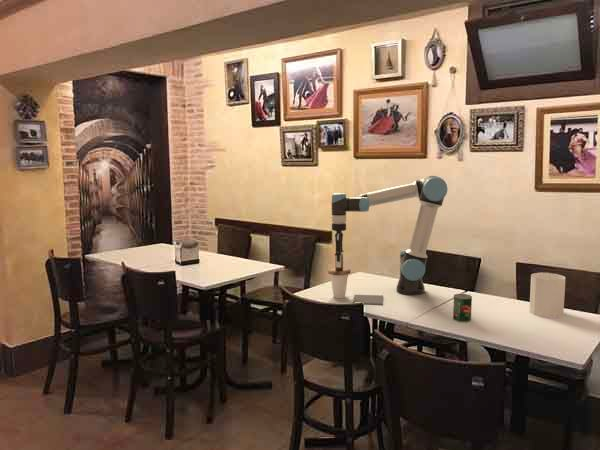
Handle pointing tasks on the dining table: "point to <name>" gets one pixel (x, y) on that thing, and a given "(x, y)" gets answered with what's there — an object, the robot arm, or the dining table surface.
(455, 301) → the canned tomato
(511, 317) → the dining table surface
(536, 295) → the container
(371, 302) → the mat
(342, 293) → the foam cup
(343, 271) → the lid
